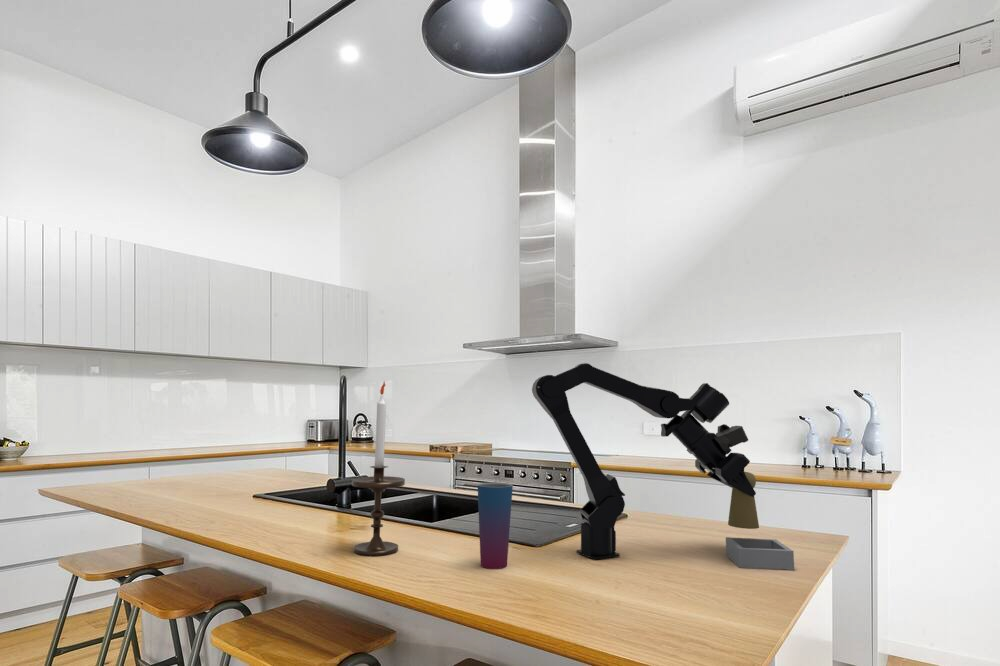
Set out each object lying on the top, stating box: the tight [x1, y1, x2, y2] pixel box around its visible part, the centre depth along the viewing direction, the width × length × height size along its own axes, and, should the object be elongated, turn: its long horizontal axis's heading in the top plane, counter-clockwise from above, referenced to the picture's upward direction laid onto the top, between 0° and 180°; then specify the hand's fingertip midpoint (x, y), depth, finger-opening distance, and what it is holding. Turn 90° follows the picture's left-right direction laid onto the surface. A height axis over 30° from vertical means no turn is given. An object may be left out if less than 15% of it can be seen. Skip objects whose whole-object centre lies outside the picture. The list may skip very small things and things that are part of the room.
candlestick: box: [351, 380, 406, 557], centre depth 125 cm, size 11×11×35 cm
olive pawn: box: [727, 471, 760, 530], centre depth 124 cm, size 6×6×11 cm
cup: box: [477, 481, 514, 570], centre depth 114 cm, size 7×7×15 cm
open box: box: [725, 536, 795, 571], centre depth 119 cm, size 10×10×4 cm
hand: (749, 493), depth 124 cm, fingers closed on olive pawn, 5 cm apart
